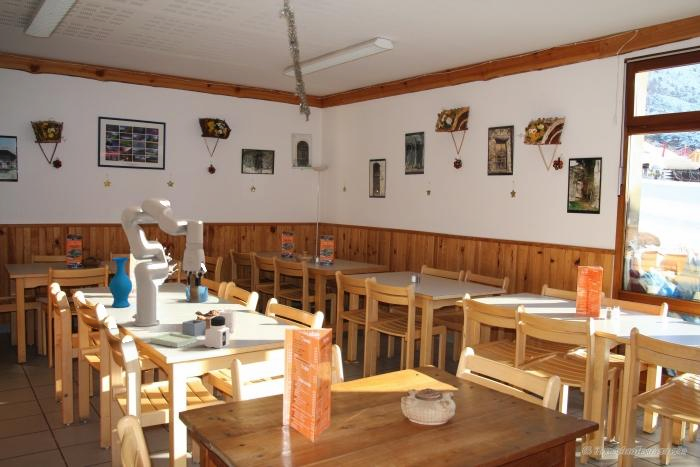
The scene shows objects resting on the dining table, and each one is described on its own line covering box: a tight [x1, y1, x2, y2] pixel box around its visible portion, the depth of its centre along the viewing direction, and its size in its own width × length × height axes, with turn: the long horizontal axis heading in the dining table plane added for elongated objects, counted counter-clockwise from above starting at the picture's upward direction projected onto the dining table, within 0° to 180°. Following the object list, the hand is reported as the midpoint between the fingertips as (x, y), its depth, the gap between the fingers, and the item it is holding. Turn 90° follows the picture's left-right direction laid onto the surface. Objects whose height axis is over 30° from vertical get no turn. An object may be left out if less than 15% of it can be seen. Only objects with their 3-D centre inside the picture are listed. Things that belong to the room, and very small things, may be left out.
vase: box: [108, 256, 133, 308], centre depth 348 cm, size 12×13×28 cm
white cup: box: [218, 309, 237, 334], centre depth 292 cm, size 8×8×10 cm
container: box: [204, 315, 230, 349], centre depth 266 cm, size 8×8×13 cm
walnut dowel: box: [190, 273, 199, 303], centre depth 284 cm, size 4×4×13 cm
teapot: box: [184, 282, 209, 303], centre depth 370 cm, size 15×15×10 cm
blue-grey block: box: [182, 319, 207, 338], centre depth 286 cm, size 8×8×6 cm
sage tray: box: [150, 332, 198, 348], centre depth 270 cm, size 16×12×2 cm
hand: (194, 285), depth 284 cm, fingers closed on walnut dowel, 4 cm apart
